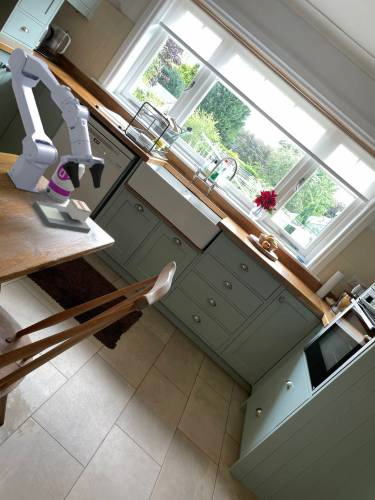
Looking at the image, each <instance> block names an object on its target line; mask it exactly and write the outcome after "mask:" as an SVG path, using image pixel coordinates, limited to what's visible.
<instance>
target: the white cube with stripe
mask: <svg viewBox="0 0 375 500" xmlns="http://www.w3.org/2000/svg"><path fill="white" fill-rule="evenodd" d="M65 207H66V208H65V209H66V211H67V212H68V213H69V215H70V216H71V218H72V219H76V220H82V221H85V222H86V220H87V219H88V218H89V217H90V215H91V214H92V210H91V209H90V208H89V206H88V205H87V204H86V203H85V202H84V201H82V200H77V199H73V198H70V199H69V201H68V203H67V205H66V206H65Z"/></svg>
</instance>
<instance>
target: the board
mask: <svg viewBox="0 0 375 500" xmlns="http://www.w3.org/2000/svg"><path fill="white" fill-rule="evenodd" d="M32 205H33V207H34V208H35V209H36V211H37V213H38V214H39V216H40V218H41V219H42V220H43V222H44V223H45V225H46V226H47V227H50V228H56V229H57V228H58V229H64V230H69V231H76V232H77V231H78V232H82V233H87V234H88V233H90V231H91V228H90V226H89V225H88V223H87V222H86V221H82V220H74V219H72V218H71V217H70V215H69V213H68V212H67V211H66V209H65V208H66V206H62V205H58V204H53V203H49V202H43V201H39V200H34V201H33V204H32Z"/></svg>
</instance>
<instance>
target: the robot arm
mask: <svg viewBox="0 0 375 500" xmlns="http://www.w3.org/2000/svg"><path fill="white" fill-rule="evenodd" d="M7 63H8V67H9V70H10V73H11V85H12V86H11V87H12V90H13V93H14V97H15V99H16V100H15V101H16V103H17V108H18V110H19V114H20V117H21V120H22V121H21V122H22V124H23V128H24V131H25V134H26V136H25V137H24V138H23V139H22V140H21V143H22V154H20V155H18V157H16V159H15V161H14V164H13V165H12V168H11V169H10V171H9V170H7V171H6V172H7V175H8V177H10V179H11V181H12V183H13V184H14V186H15V187H16V188H17V189H20V190H22V191H23V190H24V191H28V192H32V193H37V194H39V193H40V191H39V190H38V188H37V185H38V184H39V181H41V178H42V176H43V175H44V173H45V171H46V170H47V168H49V167H50V165H51V166H52V165H53V164H55V163H56V162H57V160H58V156H59V155H58V154H59V153H58V150H57V147H55V145H54V144H53V141H52V140H51V139H50V138H49V137H48V136H47V135H46V133H45V130H44V128H43V124H42V121H41V117H40V113H39V110H38V106H37V104H36V103H37V102H36V100H35V96H34V94H33V89H32V88H36V86H37V84H38V83H39V82H40V81H42V83H43V84H44V85H45V86H46V87H47V89H48V90H50V98H51V99H52V101H53V102H54V103H55V104H56V106H57V107H58V108H59V109H60V110H61V112H62V113H61V116H62V119H63V120H64V121H65V123H66V126H67V128H68V132H69V133H68V134H69V139H70V147H71V154H72V155H70V156H67V155H62V156H60V157H59V158H60V162H61V164H65V165H63V169H64V170H65V172H66V173H67V174H68V176H69V178H70V180H71V182H72V184H73V187H74V188H75V189H78V188H80V184H81V183H80V180H79V164H84V165H85V166H86V165H89V166H91V167H89V168H88V171H89V172H90V175H91V178H92V183H93V184H92V185H93V187H94V189H99V188H100V187H101V180H102V175H103V173H104V169H105V161H104V158H100V157H96V156H94V155H93V154H92V147H91V141H90V134H89V127H88V122H89V120H90V111H89V109H88V107H87V106H84V105H81V104H80V100H79V99H78V98H77V97H75V96H74V95H73V93H72V92H71V91H72V89H71V88H70V87H69V86H66V85H64V84H60V83H59V81H58V80H57V79H56V77H55V75H54V74H53V73H52V71H51V70H50V68H49V65H48V64H47V63H46V62H45V61H44V60H43V59H42V58H40V57H37V56H35V55H33V54H31V53H29V52H27V51H25V50H23V48H21V47H20V48H19V47H17V48H15V49H13V50H12V51H11V53H10V56H9V57H8V60H7Z"/></svg>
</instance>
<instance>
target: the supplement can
mask: <svg viewBox="0 0 375 500" xmlns="http://www.w3.org/2000/svg"><path fill="white" fill-rule="evenodd" d="M66 156H71V155H70V154H68V155H66ZM63 165H65V164H61V161H60V162H59V164H58V166H57V168H56V170H55V171H54V172H53V175H52V176H51V178H50V180H49V181H48V184H47V185H46V187H45V194H46V195H47V196H48V197H49V198H50V199H51V200H53V201H55V202H56V203H57V202H58V203H66V202H68V199H70V196H72V193H73V192H74V190H75V189H76V188H74V187H73V184H72V182H71V180H70V178H69V176H68V174H67V173H66V172H65V170H64V169H63ZM85 168H86V164H79V181H80V180H81V178H82V177H83V175H84V173H85V172H86V171H85Z"/></svg>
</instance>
